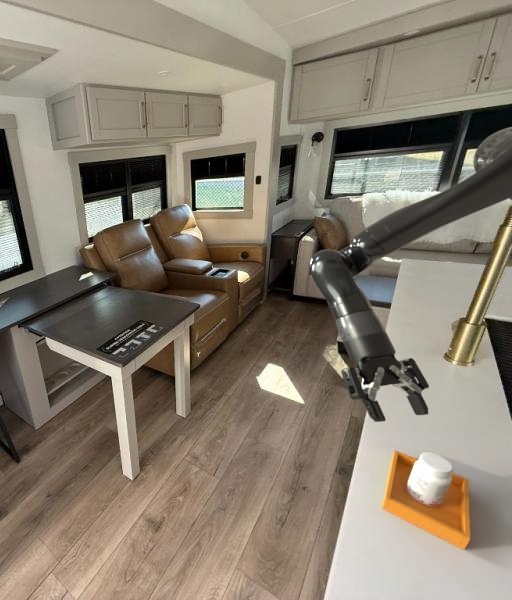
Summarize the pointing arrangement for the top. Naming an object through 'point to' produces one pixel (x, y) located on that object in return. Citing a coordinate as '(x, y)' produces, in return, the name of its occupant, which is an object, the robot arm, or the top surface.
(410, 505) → the amber tray
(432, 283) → the top surface
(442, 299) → the top surface
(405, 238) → the robot arm
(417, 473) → the pill bottle
